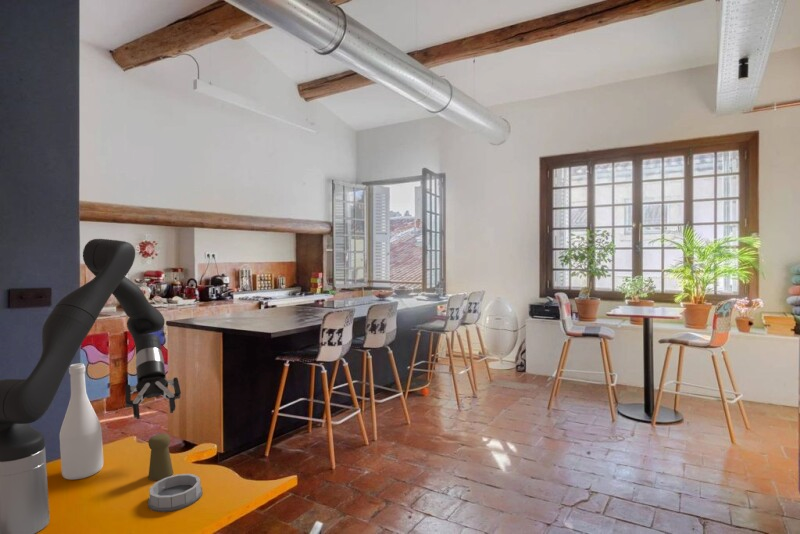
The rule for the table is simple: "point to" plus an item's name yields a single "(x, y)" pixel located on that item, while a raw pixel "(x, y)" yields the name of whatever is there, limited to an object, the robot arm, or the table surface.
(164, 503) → the small gray bowl
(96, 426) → the wine bottle
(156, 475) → the cork
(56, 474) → the table surface
